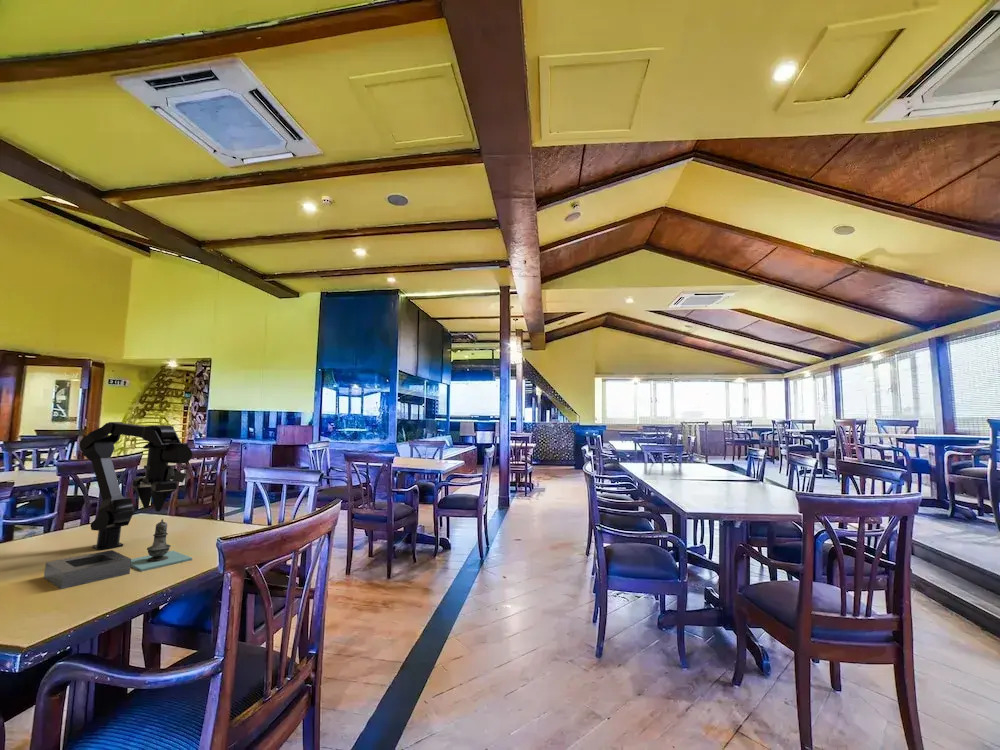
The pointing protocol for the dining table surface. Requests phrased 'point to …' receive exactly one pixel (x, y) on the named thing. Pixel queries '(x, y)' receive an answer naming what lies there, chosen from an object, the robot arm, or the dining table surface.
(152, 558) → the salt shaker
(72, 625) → the dining table surface
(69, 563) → the square socket
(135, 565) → the teal mat
